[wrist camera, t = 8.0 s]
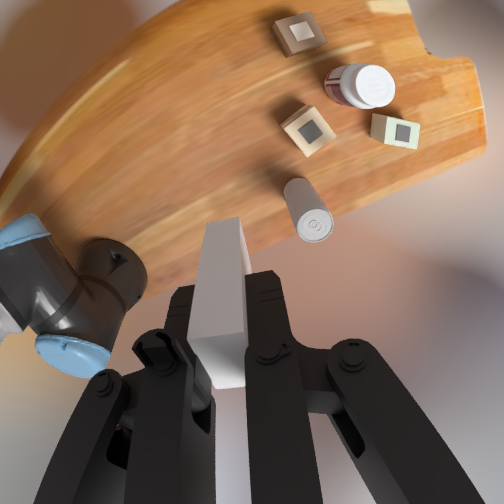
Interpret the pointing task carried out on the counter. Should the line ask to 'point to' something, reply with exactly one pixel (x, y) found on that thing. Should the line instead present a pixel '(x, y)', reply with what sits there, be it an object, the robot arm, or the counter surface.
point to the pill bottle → (360, 86)
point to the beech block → (308, 129)
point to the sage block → (394, 131)
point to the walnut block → (298, 34)
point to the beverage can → (308, 210)
